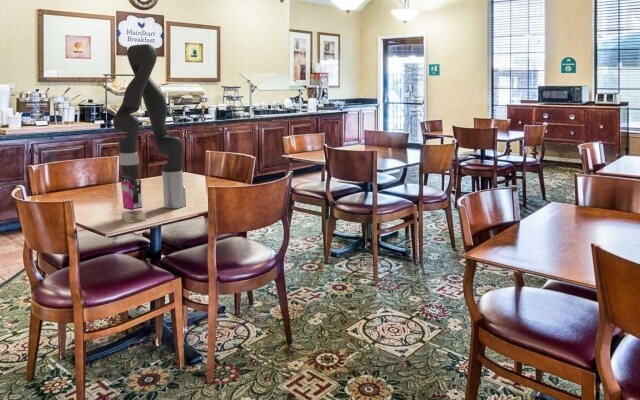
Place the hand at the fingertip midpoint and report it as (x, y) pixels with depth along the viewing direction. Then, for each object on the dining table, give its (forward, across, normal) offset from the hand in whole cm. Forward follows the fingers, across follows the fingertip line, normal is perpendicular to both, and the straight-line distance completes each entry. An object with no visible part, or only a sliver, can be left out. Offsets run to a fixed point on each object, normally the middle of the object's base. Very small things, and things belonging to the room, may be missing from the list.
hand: (132, 201), depth 231 cm
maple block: (+8, 0, 0) cm, 8 cm away
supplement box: (+3, 0, 0) cm, 3 cm away
